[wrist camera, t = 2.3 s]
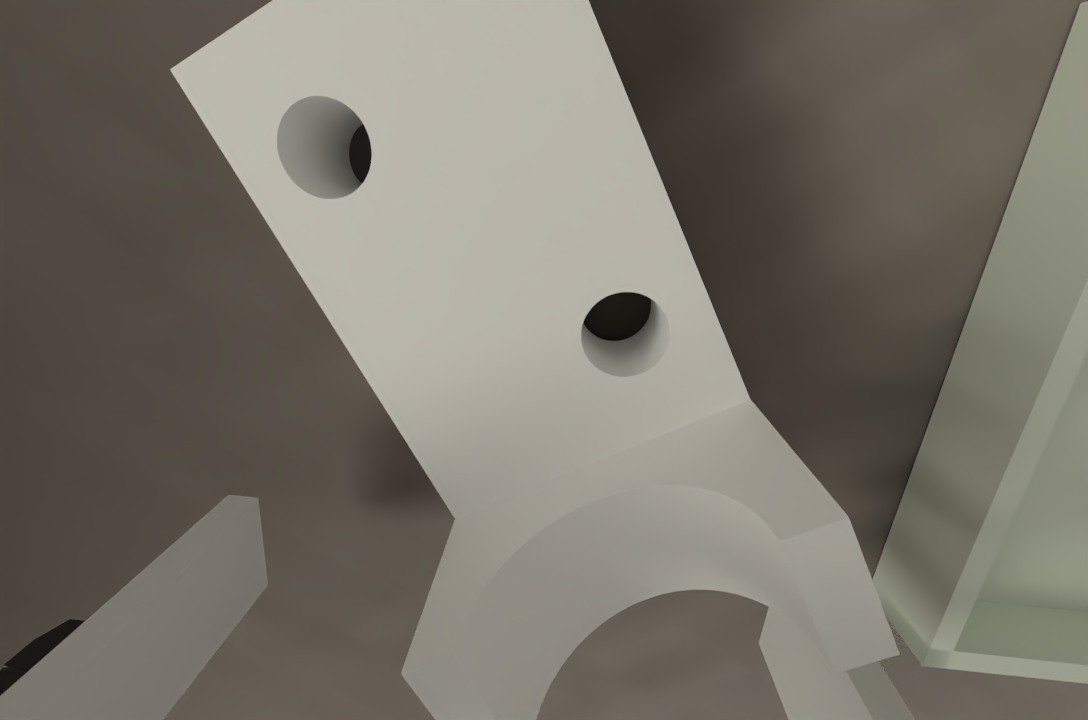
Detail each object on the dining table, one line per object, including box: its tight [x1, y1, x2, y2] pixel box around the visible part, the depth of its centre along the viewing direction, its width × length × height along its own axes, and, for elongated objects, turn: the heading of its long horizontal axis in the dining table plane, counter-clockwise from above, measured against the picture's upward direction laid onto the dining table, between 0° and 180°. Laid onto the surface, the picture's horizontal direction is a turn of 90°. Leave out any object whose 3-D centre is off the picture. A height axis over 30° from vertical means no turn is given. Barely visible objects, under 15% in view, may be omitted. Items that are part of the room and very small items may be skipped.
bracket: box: [170, 0, 900, 720], centre depth 10 cm, size 13×7×8 cm, turn 26°
